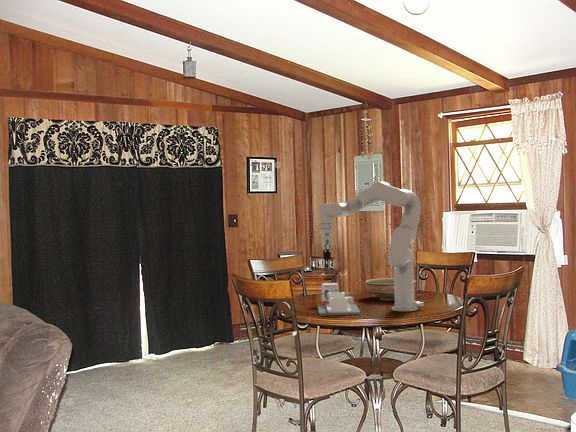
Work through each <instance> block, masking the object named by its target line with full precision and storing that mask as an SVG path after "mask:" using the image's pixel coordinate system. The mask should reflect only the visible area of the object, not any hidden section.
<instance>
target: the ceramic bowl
mask: <svg viewBox="0 0 576 432" xmlns="http://www.w3.org/2000/svg"><path fill="white" fill-rule="evenodd" d="M416 282H417V280H415V279H413V285H414V290H415V289H416V286H417V283H416ZM364 283H365V289H366V290H367V292H368V293H369V294H372V295H374V296H375V297H378V299H379V300H382V301H395V295H394V277H391V278H390V277H387V278H386V277H381V278H372V279H367V280H365V281H364Z"/></svg>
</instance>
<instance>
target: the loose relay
mask: <svg viewBox="0 0 576 432" xmlns="http://www.w3.org/2000/svg"><path fill="white" fill-rule="evenodd" d="M346 297H347V299H348V304H355V301H354V300H355V299H354V296H350V295H349V296H346Z"/></svg>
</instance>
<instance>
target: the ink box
mask: <svg viewBox="0 0 576 432" xmlns="http://www.w3.org/2000/svg"><path fill="white" fill-rule="evenodd" d="M339 287H340V286H339V283H337V282H328V283H327V282H325V283H321V286H320V288H321V296H320V297H321V305H325V303H326V304H329V293H331V292H340V291H339V290H340V289H339Z"/></svg>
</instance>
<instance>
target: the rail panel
mask: <svg viewBox="0 0 576 432" xmlns="http://www.w3.org/2000/svg"><path fill="white" fill-rule="evenodd" d="M347 297H348V296H346V294H345V292H344V291H339V292H331V293H329V304H326V303H325V305H322V304H321V305H320V304H318V305H317V311H318V315H319V317H321V316H325V317H326V316H354V315H355V316H357V315H361V311H360V309H359V307H358V306H357V304H356V303H354V304H348V299H347Z"/></svg>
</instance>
